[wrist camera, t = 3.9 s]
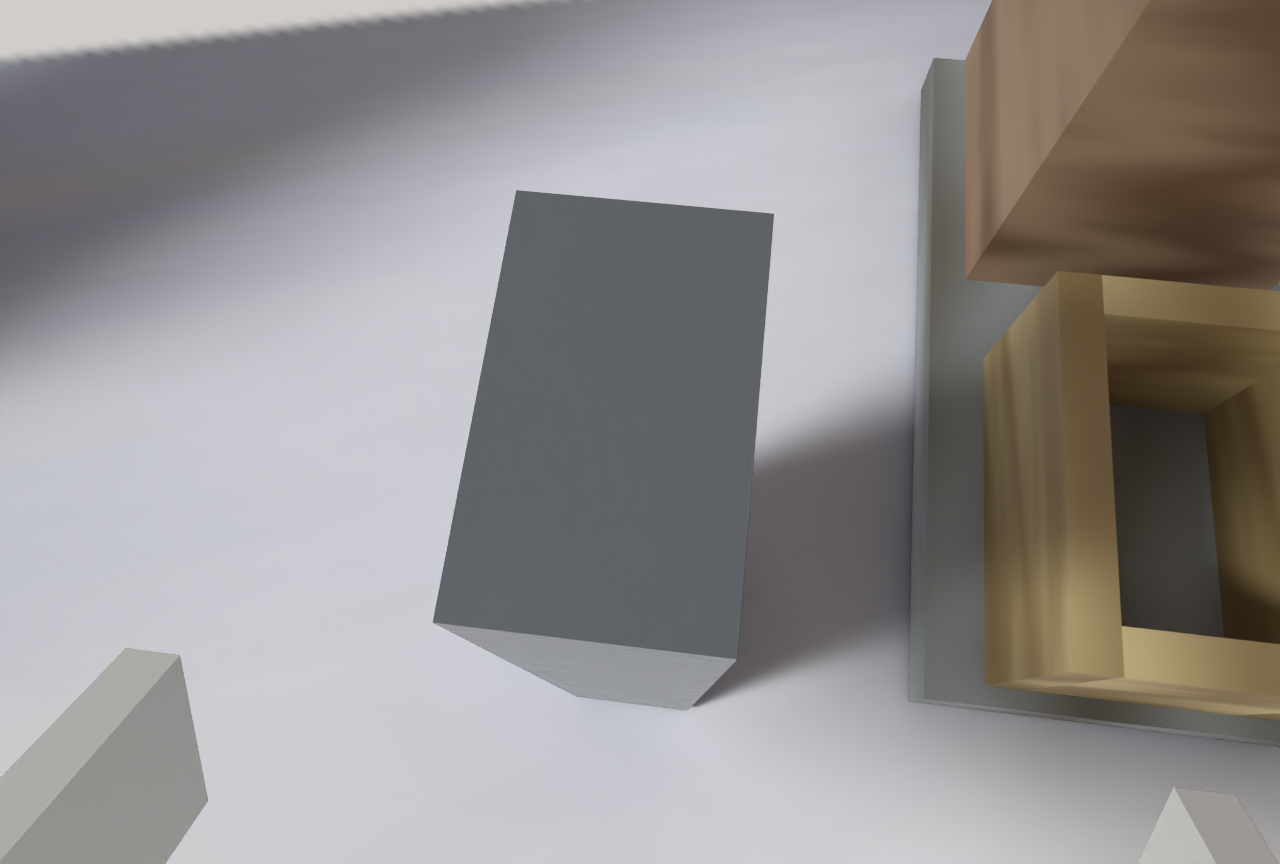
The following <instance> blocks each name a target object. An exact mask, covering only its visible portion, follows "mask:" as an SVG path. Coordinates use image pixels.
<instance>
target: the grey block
mask: <svg viewBox="0 0 1280 864" xmlns="http://www.w3.org/2000/svg"><path fill="white" fill-rule="evenodd" d="M773 219H774V214H769V213H759V212H748V211H737V210H726V209H715V208H704V207H693V206H682V205H671V204H660V203H649V202H638V201H627V200H616V199H605V198H594V197H583V196H572V195H561V194H550V193H539V192H529V191H518V190H516V195H515V200H514V205H513V210H512V216H511V221H510V226H509V231H508V236H507V241H506V247H505V252H504V257H503V262H502V267H501V272H500V278H499V283H498V288H497V293H496V298H495V303H494V309H493V314H492V319H491V324H490V329H489V334H488V340H487V345H486V350H485V355H484V360H483V366H482V371H481V376H480V381H479V386H478V391H477V397H476V402H475V407H474V412H473V417H472V422H471V428H470V433H469V438H468V443H467V448H466V453H465V459H464V464H463V469H462V474H461V479H460V484H459V490H458V495H457V500H456V505H455V510H454V515H453V521H452V526H451V531H450V536H449V541H448V546H447V552H446V557H445V562H444V567H443V572H442V577H441V583H440V588H439V593H438V598H437V603H436V608H435V614H434V619H433V623H434V624H436V625H438V626H440V627H442V628H444V629H446V630H448V631H450V632H452V633H454V634H456V635H458V636H460V637H462V638H464V639H466V640H468V641H470V642H471V643H473V644H475V645H477V646H479V647H481V648H483V649H485V650H487V651H489V652H491V653H493V654H495V655H497V656H499V657H501V658H503V659H505V660H507V661H508V662H510V663H512V664H514V665H516V666H518V667H520V668H522V669H524V670H526V671H528V672H530V673H532V674H534V675H536V676H538V677H540V678H542V679H544V680H545V681H547V682H549V683H551V684H553V685H555V686H557V687H559V688H561V689H563V690H565V691H567V692H569V693H571V694H573V695H575V696H577V697H584V698H592V699H600V700H608V701H616V702H624V703H632V704H640V705H648V706H656V707H664V708H672V709H680V710H689V709H690V708H691V707H692V706H693V705H694V704H695V703H696V702H697V700H698V699H699V698H700V697H701V696H702V695H703V694H704V693H705V692H706V691H707V690H708V689H709V688H710V687H711V686H712V685H713V684H714V683H715V682H716V681H717V680H718V679H719V678H720V677H721V676H722V675H723V674H724V673H725V672H726V671H727V670H728V669H729V668H730V667H731V666H732V665H733V664H734V662H735V661H736V660H737V658H738V646H739V634H740V621H741V609H742V597H743V585H744V573H745V560H746V548H747V536H748V524H749V512H750V500H751V487H752V475H753V463H754V451H755V439H756V426H757V414H758V402H759V390H760V378H761V366H762V353H763V341H764V329H765V317H766V305H767V293H768V280H769V268H770V256H771V244H772V232H773Z"/></svg>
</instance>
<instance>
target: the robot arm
mask: <svg viewBox="0 0 1280 864" xmlns="http://www.w3.org/2000/svg"><path fill="white" fill-rule="evenodd" d="M207 801H208V798H207V792H206V787H205V782H204V777H203V772H202V767H201V761H200V756H199V751H198V746H197V741H196V736H195V731H194V725H193V720H192V715H191V710H190V705H189V700H188V694H187V689H186V684H185V679H184V674H183V669H182V663H181V658H180V655H174V654H167V653H159V652H152V651H144V650H137V649H129V648H126V649H125V650H124V651H123V652H122V653H121V654H120V655H119V656H118V657H117V658H116V659H115V660H114V661H113V662H112V663H111V664H110V665H109V666H108V667H107V668H106V669H105V670H104V671H103V672H102V673H101V675H100V676H99V677H98V678H97V679H96V680H95V681H94V682H93V683H92V684H91V685H90V686H89V687H88V688H87V689H86V690H85V691H84V692H83V693H82V694H81V695H80V696H79V697H78V698H77V699H76V700H75V701H74V702H73V703H72V704H71V706H70V707H69V708H68V709H67V710H66V711H65V712H64V713H63V714H62V715H61V716H60V717H59V718H58V719H57V720H56V721H55V722H54V723H53V724H52V725H51V726H50V727H49V728H48V729H47V730H46V731H45V732H44V733H43V734H42V735H41V737H40V738H39V739H38V740H37V741H36V742H35V743H34V744H33V745H32V746H31V747H30V748H29V749H28V750H27V751H26V752H25V753H24V754H23V755H22V756H21V757H20V758H19V759H18V760H17V761H16V762H15V763H14V764H13V765H12V766H11V768H10V769H9V770H8V771H7V772H6V773H5V774H4V775H3V776H2V777H1V778H0V864H165V863H166V862H167V860H168V859H169V857H170V856H171V854H172V853H173V851H174V850H175V849H176V847H177V846H178V844H179V843H180V841H181V840H182V838H183V837H184V835H185V834H186V832H187V831H188V829H189V828H190V826H191V825H192V823H193V822H194V820H195V819H196V818H197V816H198V815H199V813H200V812H201V810H202V809H203V807H204V806H205V804H206V803H207ZM1138 864H1279V863H1278V861H1277V860H1276V858H1275V856H1274V855H1273V853H1272V852H1271V850H1270V849H1269V847H1268V845H1267V844H1266V842H1265V841H1264V839H1263V837H1262V836H1261V834H1260V833H1259V831H1258V829H1257V828H1256V826H1255V825H1254V823H1253V821H1252V820H1251V818H1250V817H1249V815H1248V814H1247V812H1246V810H1245V809H1244V807H1243V806H1242V804H1241V802H1240V801H1239V799H1238V798H1237V796H1236V795H1230V794H1223V793H1215V792H1208V791H1200V790H1193V789H1185V788H1178V787H1173V789H1172V791H1171V793H1170V796H1169V798H1168V800H1167V802H1166V804H1165V806H1164V809H1163V811H1162V813H1161V815H1160V817H1159V819H1158V821H1157V824H1156V826H1155V828H1154V830H1153V832H1152V834H1151V836H1150V839H1149V841H1148V843H1147V845H1146V847H1145V849H1144V852H1143V854H1142V856H1141V858H1140V860H1139V862H1138Z"/></svg>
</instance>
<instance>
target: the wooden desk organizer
mask: <svg viewBox="0 0 1280 864" xmlns="http://www.w3.org/2000/svg"><path fill="white" fill-rule="evenodd" d="M1279 282H1280V0H992V2H991V5H990V7H989V9H988V11H987V14H986V16H985V18H984V20H983V22H982V25H981V27H980V29H979V31H978V34H977V36H976V38H975V40H974V42H973V45H972V47H971V49H970V51H969V54H968V56H967V58H966V60H953V59H940V58H934V59H933V62H932V64H931V67H930V69H929V72H928V74H927V77H926V79H925V82H924V84H923V87H922V89H921V119H920V167H919V216H918V264H917V312H916V361H915V409H914V458H913V506H912V554H911V603H910V651H909V699H908V701H911V702H919V703H927V704H935V705H943V706H952V707H960V708H968V709H976V710H984V711H992V712H1001V713H1009V714H1017V715H1025V716H1033V717H1041V718H1049V719H1058V720H1066V721H1074V722H1082V723H1090V724H1098V725H1107V726H1115V727H1123V728H1131V729H1139V730H1147V731H1156V732H1164V733H1172V734H1180V735H1188V736H1196V737H1204V738H1213V739H1221V740H1229V741H1237V742H1245V743H1253V744H1262V745H1270V746H1278V747H1280V284H1279Z"/></svg>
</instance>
